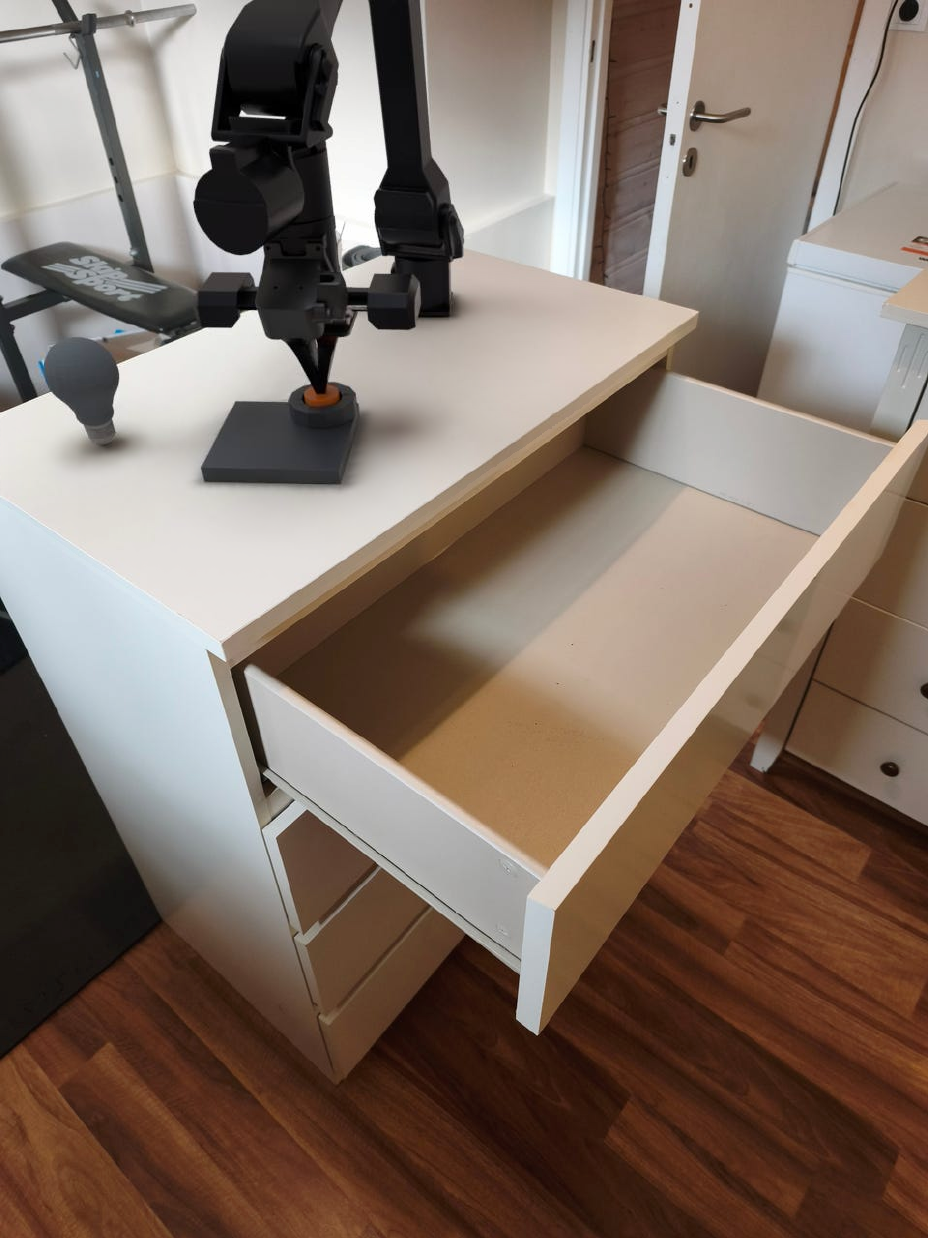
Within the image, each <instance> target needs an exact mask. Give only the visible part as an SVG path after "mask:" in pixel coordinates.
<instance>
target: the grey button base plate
mask: <svg viewBox="0 0 928 1238" xmlns="http://www.w3.org/2000/svg"><path fill="white" fill-rule="evenodd" d="M328 385H332V386H335V387H336V388H338V390H339V397H340V401H339V402H337V403H336V404H333V405H329V406H325V407H313V406H310V405H307V404H306V403H305V397H304V392H305V391H306V390H307V389H308V388H310V387H312V385H311V383H309V384H305V385H301V386H300V387H298V388H296V389H295V390H293V391H292V392H291V393H290V395H289V398H288V400H287V401H260V400H259V401H258V400H257V401H255V400H254V401H253V400H250V401H249V400H248V401H247V400H235V401H234V403H233V405H232V407H231V409H230V410H229V412H228V414H227V417H226V418H225V421H224V422H223V424H222V426H221V428H220V430H219V431H218V434H217V435H216V438H215V440H214V441H213V443H212V445H211V447H210V449H209V451H208V453H207V454H206V456H205V458H204V460H203V463H202V464H201V466H200V470H201V475H202V478H203V481H204V482H231V483H232V482H237V483H282V484H286V483H287V484H288V483H289V484H329V485H330V484H331V485H332V484H335V485H336V484H337V485H338V484H339V485H340V484H341V483H342V480H343V476H344V472H345V470H346V466H347V462H348V459H349V456H350V451H351V448H352V445H353V441H354V437H355V435H356V431H357V427H358V424H359V420H360V417H361V411H360V403H359V402H358V401H357V393H356V392H355V390H353V388H352V387H351V386H350V385H347V384H344V383H341V382H337V381H328Z"/></svg>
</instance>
